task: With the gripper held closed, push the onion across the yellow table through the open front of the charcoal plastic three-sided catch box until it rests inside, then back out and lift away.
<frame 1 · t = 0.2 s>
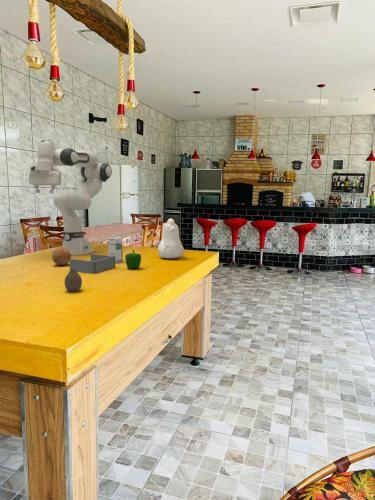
hand: (44, 193, 221), 38 cm above the table, tool pointing down, fingers open, 8 cm apart
onion: (61, 265, 210), on the table
bell pepper: (133, 268, 206), on the table
syrup box: (115, 262, 223), on the table
vase: (73, 291, 159), on the table
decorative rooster: (170, 257, 243), on the table
catch box: (92, 268, 203), on the table
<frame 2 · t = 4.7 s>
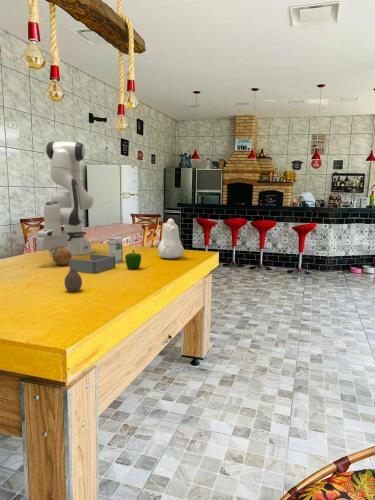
hand: (53, 256, 212), 4 cm above the table, tool pointing down, fingers closed, pressing on onion
onion: (62, 265, 210), on the table, touching gripper
everything else where it was.
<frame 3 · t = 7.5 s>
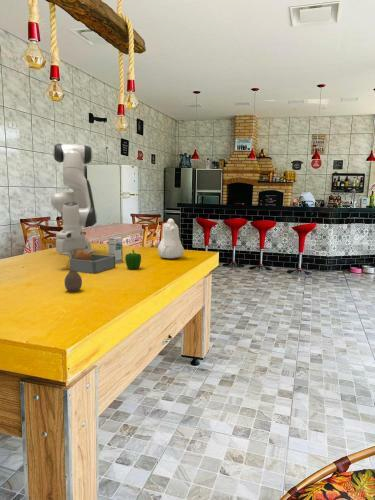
hand: (72, 258, 207), 4 cm above the table, tool pointing down, fingers closed, pressing on onion
onion: (81, 267, 206), on the table, touching gripper
everything else where it was.
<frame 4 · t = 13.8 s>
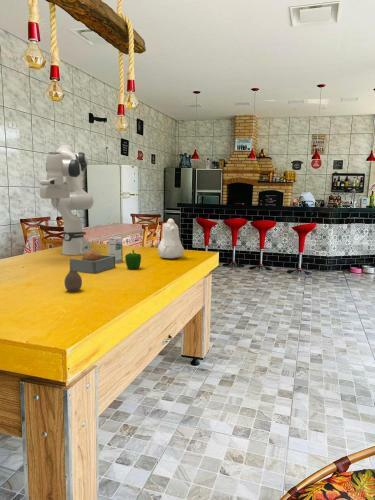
hand: (56, 206, 217), 31 cm above the table, tool pointing down, fingers closed
onion: (91, 269, 203), on the table
everything else where it was.
at the end: onion inside the target area on the catch box (3.2 cm from its centre), point 0.0 cm above the catch box's base; onion moved 19.6 cm from its start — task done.
